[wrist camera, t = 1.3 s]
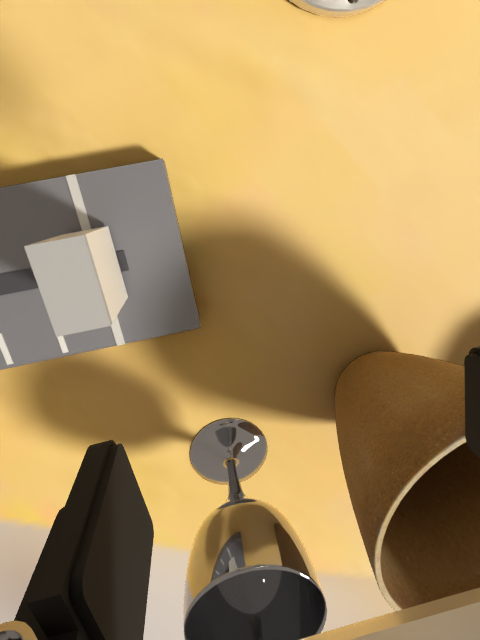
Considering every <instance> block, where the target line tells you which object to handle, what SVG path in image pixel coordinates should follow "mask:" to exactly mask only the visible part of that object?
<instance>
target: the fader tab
mask: <svg viewBox="0 0 480 640" xmlns="http://www.w3.org/2000/svg"><path fill="white" fill-rule="evenodd" d="M24 248H25V251H26V253H27V256H28V259H29V262H30V265H31V267H32V270H33V273H34V276H35V279H36V281H37V284H38V287H39V290H40V293H41V295H42V298H43V301H44V304H45V307H46V310H47V312H48V315H49V318H50V321H51V324H52V326H53V329H54V332H55V335H56V337H59V336H64V335H69V334H73V333H78V332H83V331H88V330H93V329H98V328H103V327H107V326H111V325H112V323H113V322H114V320H115V318H116V317H117V315H118V313H119V312H120V310H121V308H122V307H123V305H124V303H125V301H126V300H127V298H128V295H127V292H126V288H125V285H124V281H123V277H122V274H121V270H120V267H119V263H118V260H117V256H116V252H115V249H114V245H113V242H112V238H111V235H110V231H109V227H108V226H105V227H100V228H94V229H89V230H84V231H78V232H73V233H68V234H63V235H59V236H56V237H53V238H49V239H46V240H43V241H40V242H36V243H33V244H30V245H26V246H24Z"/></svg>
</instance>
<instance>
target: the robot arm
mask: <svg viewBox="0 0 480 640" xmlns="http://www.w3.org/2000/svg"><path fill="white" fill-rule="evenodd" d="M289 1H291V2H292V3H294V4H295V5H297V6H298V7H300V8H301V9H304V10H306V11H309V12H311V13H314V14H317V15H321V16H328V17H346V16H354V15H357V14H360V13H363V12H366V11H369V10H371V9H372V8H374V7H376V6H377V5H379V4H381V3H382V2H384V1H386V0H351V3H349V2H348V0H289ZM464 368H465V438H466V442H467V444H468V446H469V448H470V449H471V450H472V451H473V452H474V453H475V454H476V455H477V456H478V457H479V458H480V347H476V348H472V349H471V350H470V352H469V355H467V356H466V357H465V361H464ZM153 537H154V530H153V524H152V520H151V517H150V515H149V512H148V509H147V507H146V504H145V502H144V499H143V496H142V494H141V491H140V488H139V486H138V483H137V481H136V478H135V475H134V473H133V470H132V468H131V465H130V462H129V460H128V457H127V454H126V452H125V449H124V447H123V445H122V444H117V445H116V444H115V442H114V441H113V440H109V441H106V442H102V443H98V444H94V445H90V446H89V447H88V449H87V451H86V454H85V456H84V459H83V461H82V464H81V467H80V469H79V472H78V474H77V477H76V479H75V482H74V484H73V487H72V489H71V492H70V495H69V497H68V500H67V502H66V505H65V507H63V508H62V509H61V510H60V511H59V512H58V514H57V516H56V519H55V521H54V523H53V526H52V528H51V531H50V533H49V536H48V538H47V541H46V543H45V546H44V548H43V551H42V553H41V555H40V558H39V560H38V563H37V565H36V568H35V570H34V573H33V575H32V578H31V580H30V583H29V585H28V587H27V590H26V592H25V595H24V598H23V600H22V602H21V605H20V607H19V610H18V612H17V615H16V617H15V619H14V621H11V622H5V623H2V624H0V640H143V634H144V624H145V614H146V604H147V595H148V585H149V576H150V565H151V556H152V547H153ZM299 640H480V588H477V589H473V590H470V591H466V592H463V593H459V594H456V595H452V596H449V597H445V598H441V599H438V600H434V601H431V602H427V603H424V604H420V605H417V606H414V607H410V608H407V609H403V610H400V611H396V612H393V613H389V614H386V615H383V616H379V617H375V618H372V619H368V620H365V621H361V622H358V623H354V624H351V625H347V626H344V627H341V628H337V629H334V630H330V631H327V632H323V633H320V634H317V635H313V636H310V637H306V638H303V639H299Z"/></svg>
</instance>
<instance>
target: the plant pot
mask: <svg viewBox="0 0 480 640" xmlns="http://www.w3.org/2000/svg"><path fill="white" fill-rule="evenodd" d="M335 416H336V428H337V436H338V443H339V449H340V455H341V460H342V465H343V470H344V475H345V479H346V483H347V486H348V490H349V494H350V498H351V502H352V506H353V509H354V513H355V516H356V519H357V523H358V526H359V529H360V532H361V536H362V539H363V542H364V545H365V548H366V551H367V554H368V558H369V561H370V564H371V567H372V569H373V572H374V575H375V578H376V581H377V584H378V586H379V589H380V591H381V593H382V595H383V596H384V598H385V600H386V601H387V602H388V604H389V605H390V606H391V607H392V608H393V609H394V610H395V611H400V610H403V609H407V608H410V607H414V606H417V605H420V604H424V603H427V602H431V601H434V600H438V599H441V598H445V597H449V596H452V595H456V594H459V593H463V592H466V591H470V590H473V589H477V588H480V458H479V457H478V456H477V455H476V454H475V453H474V452H473V451H472V450H471V449H470V448H469V446H468V444H467V442H466V438H465V368H464V366H461V365H457V364H453V363H450V362H446V361H442V360H438V359H433V358H429V357H424V356H419V355H413V354H406V353H399V352H389V351H376V352H370V353H367V354H364V355H362V356H360V357H358V358H356V359H355V360H354V361H352V362H351V363H350V364H349V365H348V366H347V367H346V368H345V369H344V371H343V372H342V373H341V375H340V377H339V379H338V381H337V384H336V389H335Z"/></svg>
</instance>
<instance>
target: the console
mask: <svg viewBox="0 0 480 640" xmlns="http://www.w3.org/2000/svg"><path fill="white" fill-rule="evenodd" d="M105 226H108V227H109V231H110V235H111V238H112V242H113V245H114V249H115V252H116V256H117V260H118V263H119V267H120V270H121V274H122V277H123V281H124V285H125V288H126V292H127V295H128V298H127V300H126V301H125V303H124V305H123V307H122V308H121V310H120V312H119V313H118V315H117V317H116V318H115V320H114V322H113V323H112V325H111V326H107V327H103V328H98V329H93V330H88V331H83V332H78V333H73V334H69V335H64V336H59V337H56V335H55V332H54V329H53V326H52V324H51V321H50V318H49V315H48V312H47V310H46V307H45V304H44V301H43V298H42V295H41V293H40V290H39V287H38V284H37V281H36V279H35V276H34V273H33V270H32V267H31V265H30V262H29V259H28V256H27V253H26V251H25V248H24V246H26V245H30V244H33V243H36V242H40V241H43V240H46V239H49V238H53V237H56V236H59V235H63V234H68V233H73V232H78V231H84V230H89V229H94V228H100V227H105ZM198 328H200V319H199V315H198V310H197V306H196V301H195V297H194V292H193V287H192V283H191V278H190V274H189V269H188V265H187V260H186V256H185V251H184V247H183V242H182V238H181V233H180V229H179V224H178V220H177V215H176V211H175V206H174V202H173V197H172V193H171V188H170V184H169V179H168V175H167V170H166V166H165V161H164V160H163V159H158V160H152V161H147V162H141V163H136V164H130V165H124V166H119V167H113V168H108V169H102V170H96V171H91V172H85V173H80V174H73V175H67V176H63V177H57V178H51V179H46V180H40V181H35V182H29V183H23V184H18V185H12V186H7V187H1V188H0V370H2V369H7V368H11V367H16V366H21V365H26V364H31V363H35V362H40V361H45V360H50V359H54V358H59V357H64V356H69V355H74V354H78V353H83V352H88V351H93V350H97V349H102V348H107V347H112V346H116V345H117V346H119V345H123V344H126V343H131V342H136V341H140V340H145V339H150V338H155V337H159V336H164V335H169V334H174V333H178V332H183V331H188V330H193V329H198Z"/></svg>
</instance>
